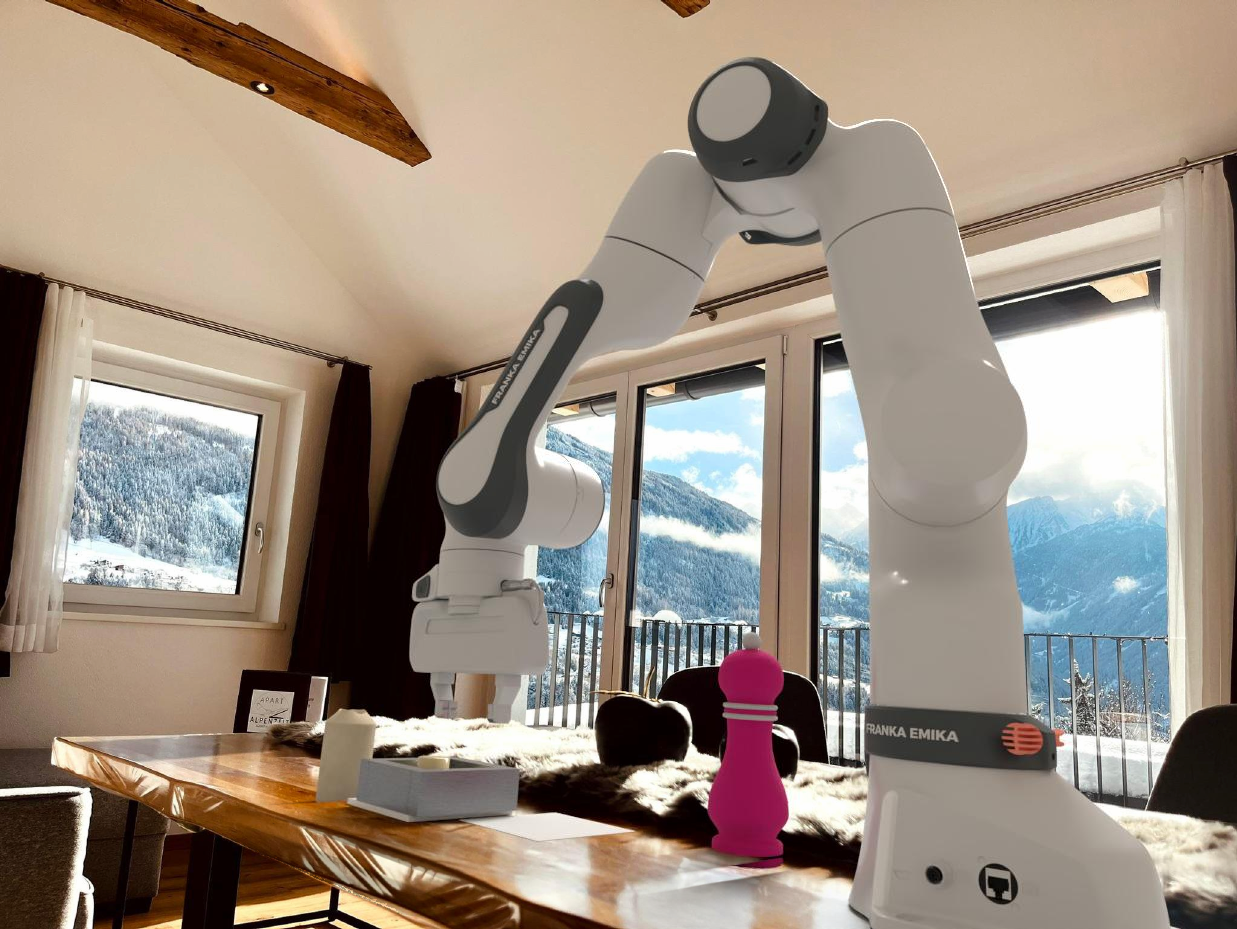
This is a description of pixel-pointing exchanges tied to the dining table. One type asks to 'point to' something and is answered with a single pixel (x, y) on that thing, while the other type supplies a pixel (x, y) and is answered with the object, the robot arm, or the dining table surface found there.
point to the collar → (438, 787)
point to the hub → (425, 763)
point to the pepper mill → (749, 759)
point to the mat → (547, 826)
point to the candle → (344, 754)
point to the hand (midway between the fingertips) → (470, 720)
